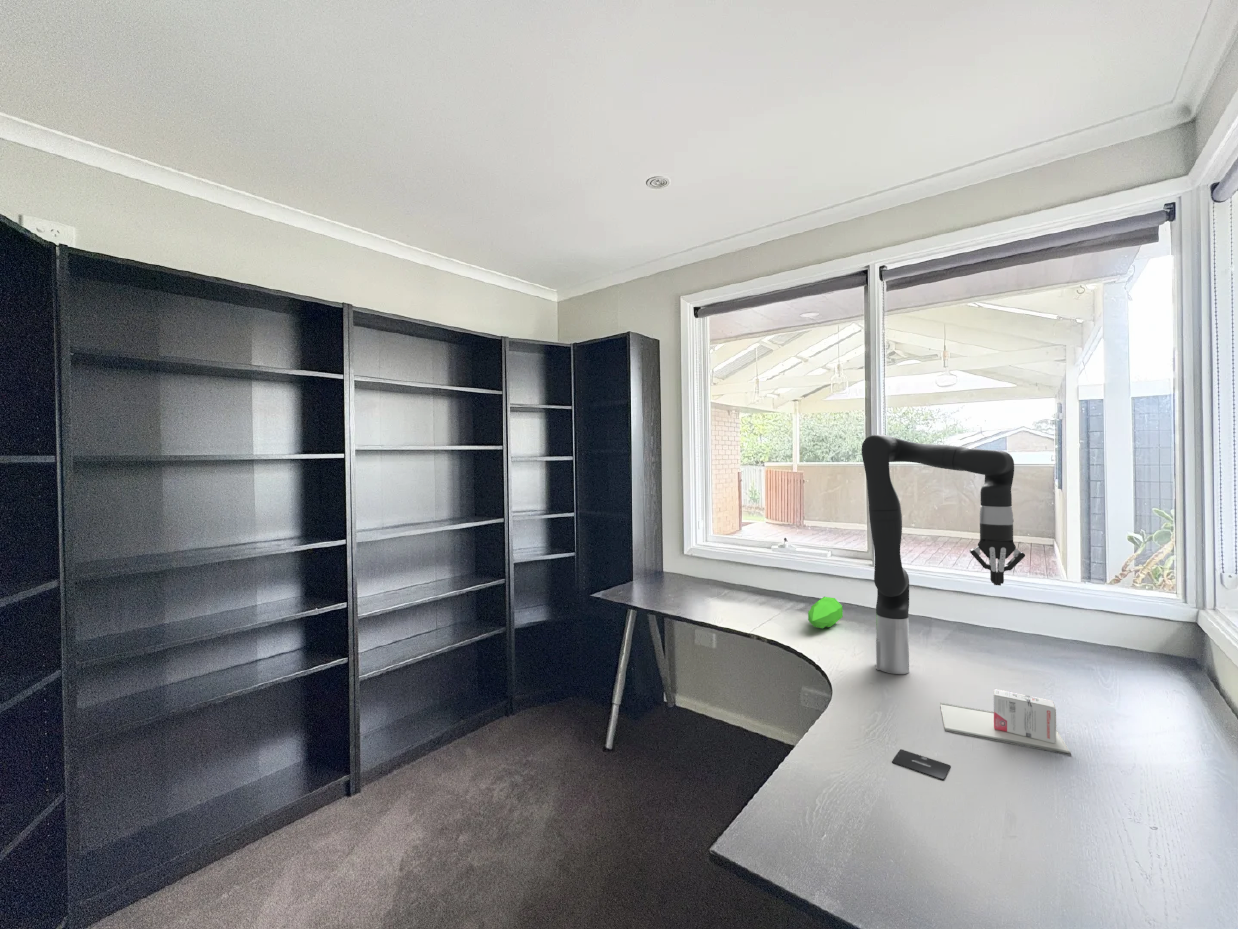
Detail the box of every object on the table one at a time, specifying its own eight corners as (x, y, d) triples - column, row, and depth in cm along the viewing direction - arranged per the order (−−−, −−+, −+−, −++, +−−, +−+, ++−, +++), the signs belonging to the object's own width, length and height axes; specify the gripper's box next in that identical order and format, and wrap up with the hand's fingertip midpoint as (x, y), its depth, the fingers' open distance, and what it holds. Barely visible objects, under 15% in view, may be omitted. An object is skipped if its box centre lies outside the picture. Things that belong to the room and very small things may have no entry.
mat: (945, 731, 128) (945, 728, 128) (940, 704, 142) (940, 702, 142) (1070, 755, 117) (1070, 753, 117) (1051, 723, 131) (1051, 721, 131)
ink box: (993, 722, 132) (1054, 736, 125) (993, 730, 128) (1056, 745, 121) (993, 687, 132) (1054, 700, 125) (993, 694, 128) (1056, 708, 121)
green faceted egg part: (841, 590, 222) (820, 603, 198) (852, 617, 219) (832, 633, 195) (815, 597, 228) (792, 610, 204) (826, 623, 225) (803, 639, 201)
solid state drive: (900, 751, 120) (900, 749, 120) (951, 768, 113) (951, 765, 113) (891, 764, 115) (891, 761, 115) (944, 783, 108) (943, 779, 108)
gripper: (1022, 522, 145) (1023, 584, 145) (966, 520, 151) (966, 580, 151) (1029, 524, 138) (1030, 590, 138) (969, 522, 144) (970, 585, 144)
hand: (997, 584), depth 145 cm, fingers closed
